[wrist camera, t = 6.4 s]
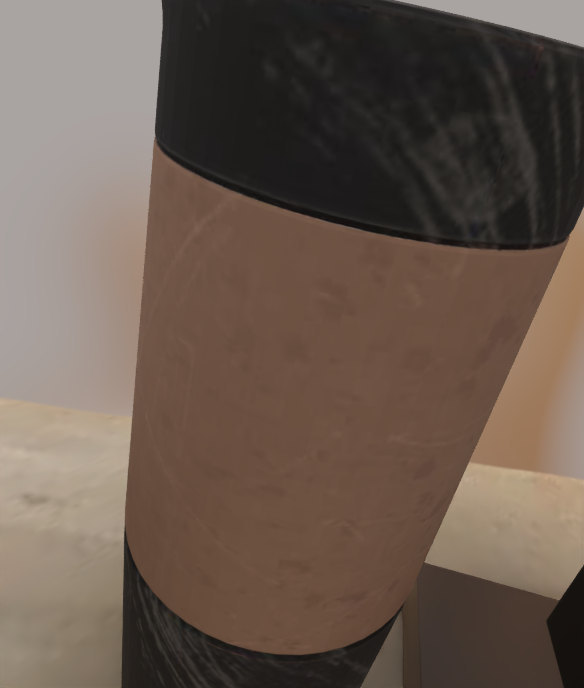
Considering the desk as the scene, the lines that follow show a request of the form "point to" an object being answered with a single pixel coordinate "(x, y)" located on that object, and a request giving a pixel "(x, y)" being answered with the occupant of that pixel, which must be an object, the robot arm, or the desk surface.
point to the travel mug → (327, 318)
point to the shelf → (476, 634)
